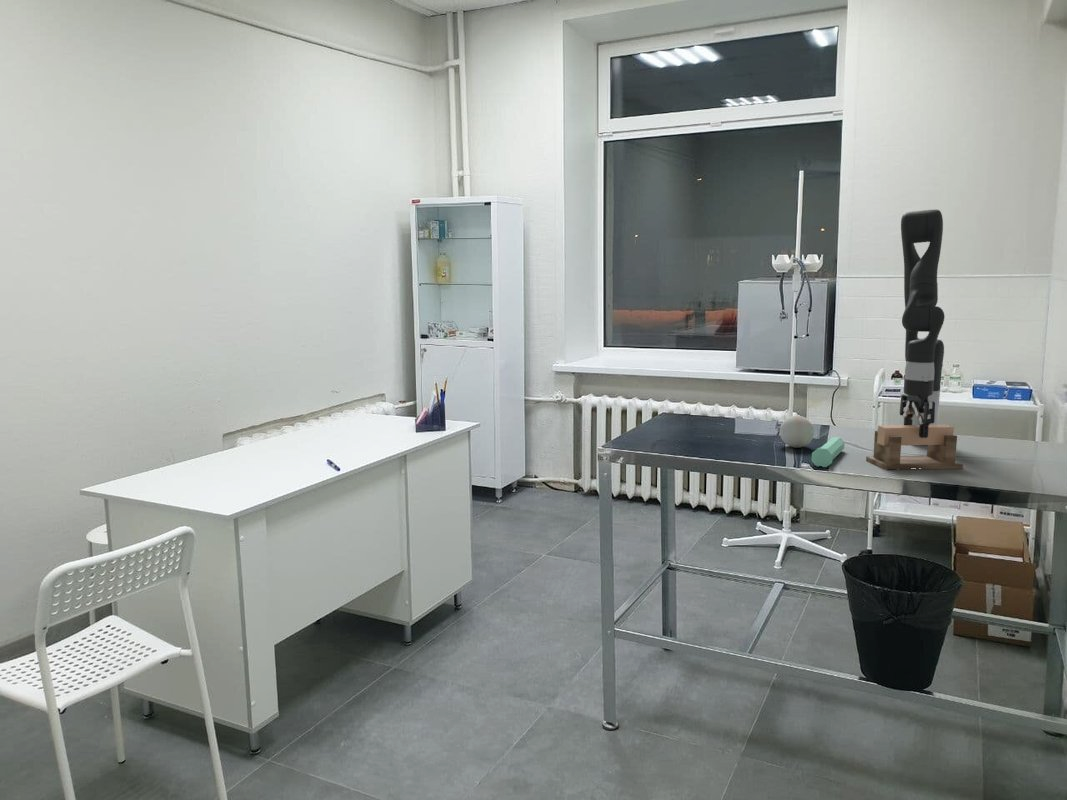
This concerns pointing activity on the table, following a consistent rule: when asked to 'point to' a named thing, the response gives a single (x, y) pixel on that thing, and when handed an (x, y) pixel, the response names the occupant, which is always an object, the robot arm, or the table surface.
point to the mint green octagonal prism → (828, 452)
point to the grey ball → (796, 431)
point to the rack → (933, 460)
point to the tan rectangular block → (914, 434)
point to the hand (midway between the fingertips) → (915, 434)
